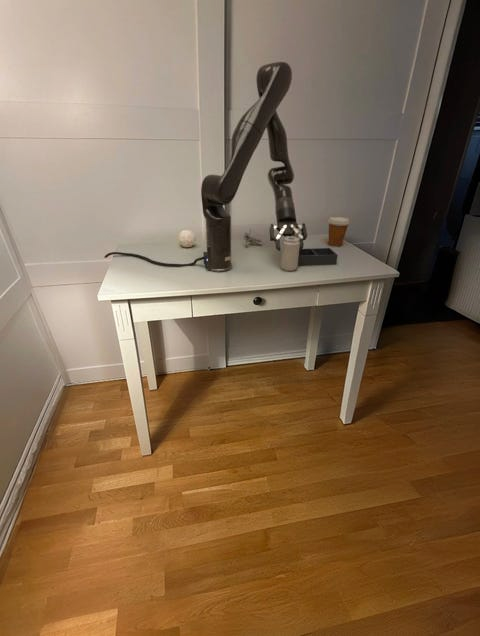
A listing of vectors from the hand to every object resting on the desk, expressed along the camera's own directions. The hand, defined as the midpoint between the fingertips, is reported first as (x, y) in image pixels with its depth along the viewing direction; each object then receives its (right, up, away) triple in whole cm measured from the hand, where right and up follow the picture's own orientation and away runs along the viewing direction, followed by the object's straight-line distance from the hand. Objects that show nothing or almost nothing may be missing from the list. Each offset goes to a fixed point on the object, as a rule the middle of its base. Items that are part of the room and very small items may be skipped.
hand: (290, 249), depth 119 cm
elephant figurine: (-14, +8, +29) cm, 33 cm away
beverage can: (0, -7, +3) cm, 8 cm away
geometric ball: (-43, +7, +25) cm, 51 cm away
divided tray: (+11, -3, +10) cm, 15 cm away
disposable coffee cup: (+26, +9, +30) cm, 41 cm away
